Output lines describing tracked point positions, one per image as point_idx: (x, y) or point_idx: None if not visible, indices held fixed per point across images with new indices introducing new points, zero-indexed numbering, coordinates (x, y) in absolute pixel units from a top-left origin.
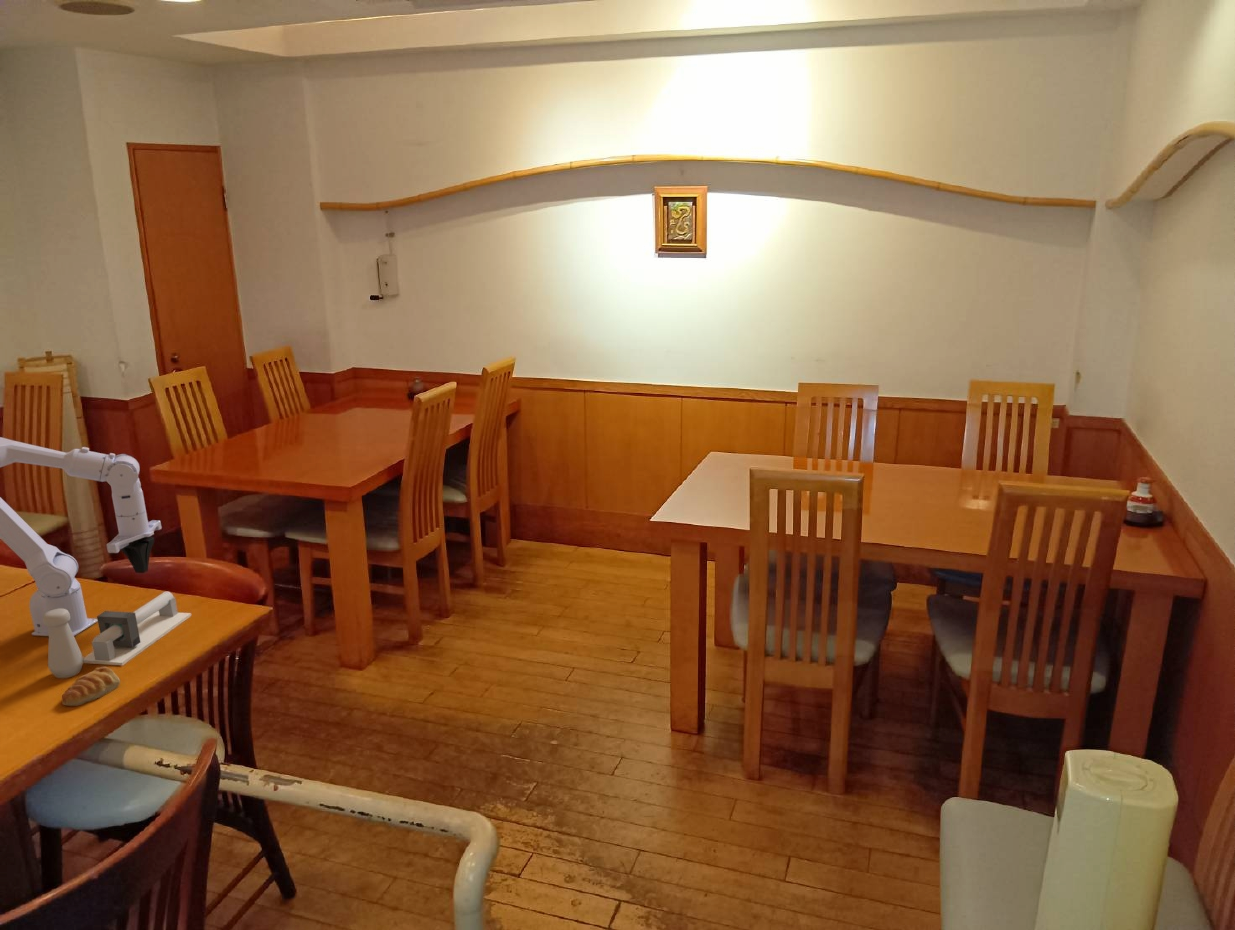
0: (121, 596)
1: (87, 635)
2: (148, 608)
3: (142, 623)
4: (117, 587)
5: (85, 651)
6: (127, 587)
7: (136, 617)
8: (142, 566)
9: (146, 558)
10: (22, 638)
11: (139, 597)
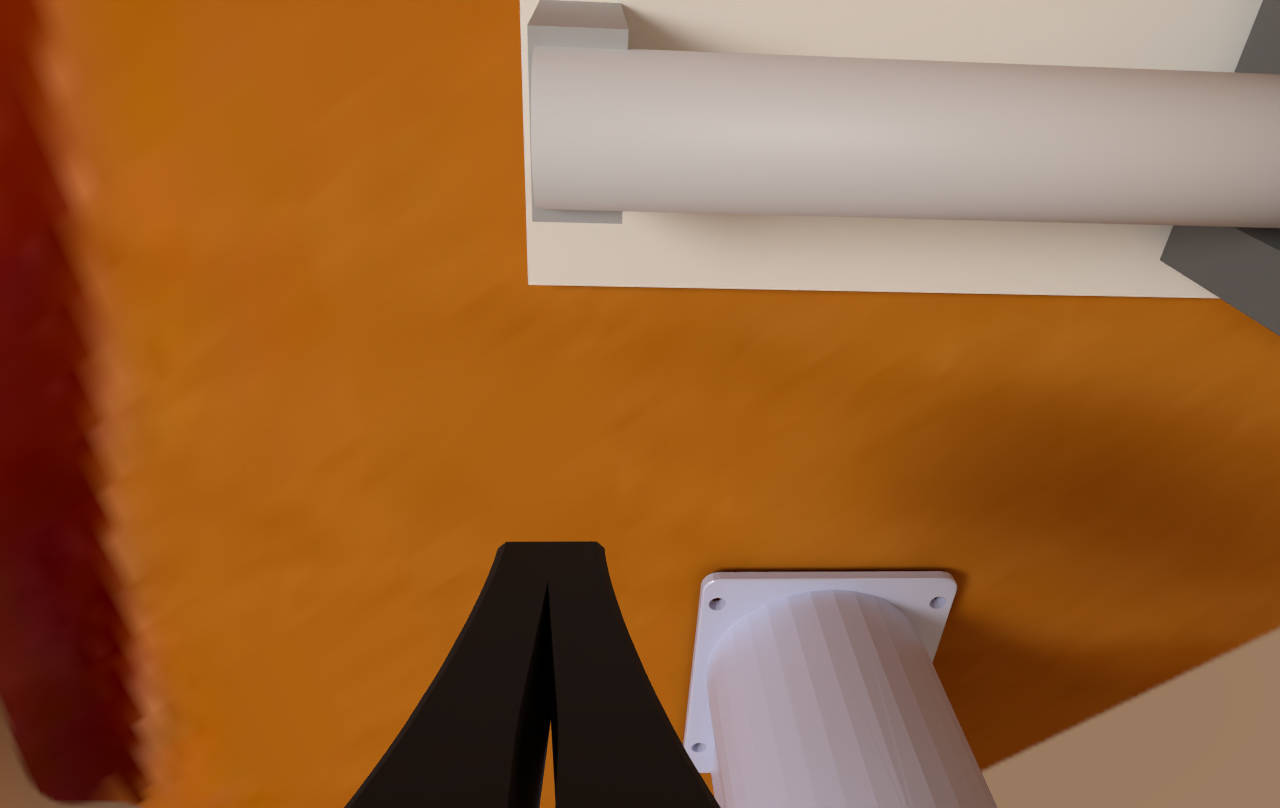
0: (309, 661)
1: (914, 509)
2: (1013, 95)
3: (782, 225)
4: (198, 751)
5: (1179, 375)
6: (172, 706)
7: (1244, 94)
8: (622, 627)
9: (522, 708)
10: None
11: (284, 555)
